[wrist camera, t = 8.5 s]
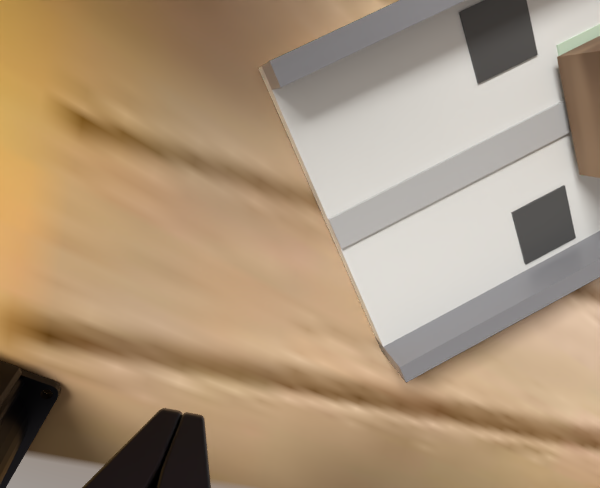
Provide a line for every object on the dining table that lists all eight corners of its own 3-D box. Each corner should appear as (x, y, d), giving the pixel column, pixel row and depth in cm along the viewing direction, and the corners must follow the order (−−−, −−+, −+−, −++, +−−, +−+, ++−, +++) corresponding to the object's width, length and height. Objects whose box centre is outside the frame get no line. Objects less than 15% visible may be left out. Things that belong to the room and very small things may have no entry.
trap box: (381, 351, 25) (425, 408, 20) (258, 68, 19) (279, 54, 14) (668, 197, 26) (771, 216, 22) (633, -108, 20) (762, -171, 16)
